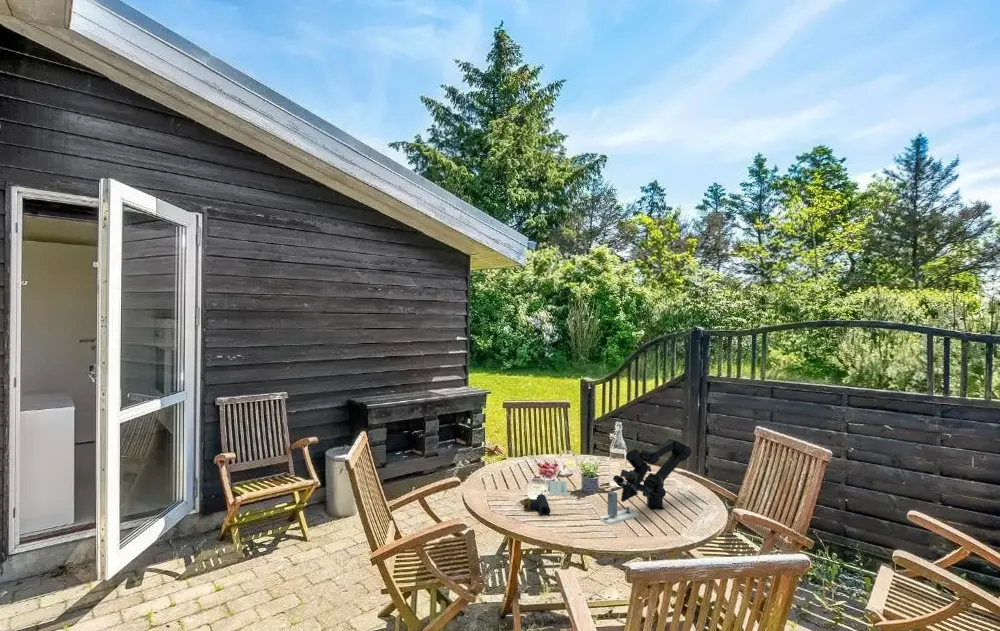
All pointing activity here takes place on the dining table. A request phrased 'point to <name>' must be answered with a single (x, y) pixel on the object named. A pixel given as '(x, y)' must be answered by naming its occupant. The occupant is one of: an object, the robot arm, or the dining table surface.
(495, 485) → the dining table surface
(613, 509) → the gray metal block
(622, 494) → the robot arm
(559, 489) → the metal bracket
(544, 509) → the pipe connector
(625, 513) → the bolt plate
